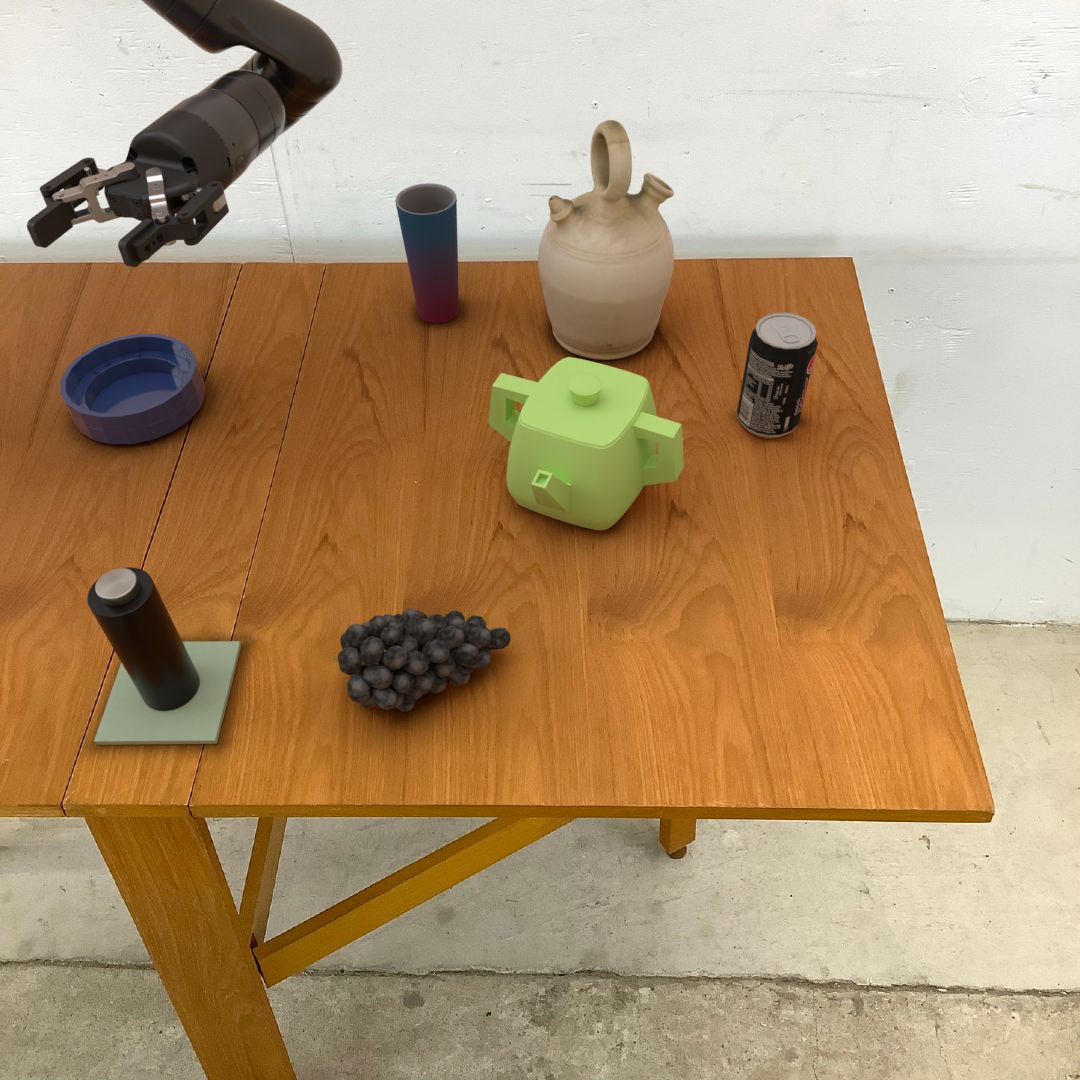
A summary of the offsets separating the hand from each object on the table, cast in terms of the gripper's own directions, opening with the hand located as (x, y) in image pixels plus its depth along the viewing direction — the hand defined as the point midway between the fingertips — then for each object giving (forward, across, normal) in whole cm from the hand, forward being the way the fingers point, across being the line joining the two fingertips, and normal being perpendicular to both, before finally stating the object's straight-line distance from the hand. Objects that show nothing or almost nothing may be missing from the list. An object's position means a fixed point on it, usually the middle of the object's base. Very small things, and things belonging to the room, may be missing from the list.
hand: (79, 246), depth 76 cm
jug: (-43, +30, +30) cm, 60 cm away
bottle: (+18, +11, +29) cm, 36 cm away
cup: (-40, +10, +30) cm, 51 cm away
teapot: (-15, +36, +30) cm, 49 cm away
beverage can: (-32, +52, +30) cm, 68 cm away
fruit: (+10, +31, +30) cm, 44 cm away
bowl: (-13, -14, +30) cm, 36 cm away
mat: (+19, +11, +30) cm, 37 cm away
